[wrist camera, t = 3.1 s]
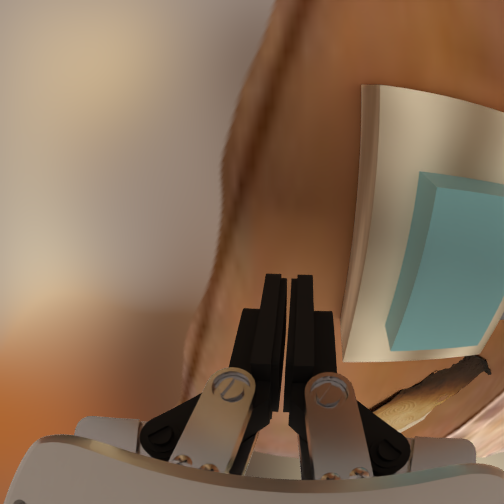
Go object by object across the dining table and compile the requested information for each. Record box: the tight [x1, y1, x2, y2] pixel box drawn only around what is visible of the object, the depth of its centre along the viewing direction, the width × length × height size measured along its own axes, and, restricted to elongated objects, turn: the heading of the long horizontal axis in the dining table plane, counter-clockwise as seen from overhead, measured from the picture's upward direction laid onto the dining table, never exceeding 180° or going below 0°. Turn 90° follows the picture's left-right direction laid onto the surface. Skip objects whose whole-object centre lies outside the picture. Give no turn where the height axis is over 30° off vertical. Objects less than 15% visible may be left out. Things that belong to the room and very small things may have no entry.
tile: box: [385, 171, 504, 351], centre depth 12 cm, size 6×9×2 cm, turn 3°
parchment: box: [373, 355, 492, 433], centre depth 28 cm, size 25×10×1 cm, turn 153°
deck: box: [340, 85, 504, 362], centre depth 14 cm, size 11×16×4 cm
